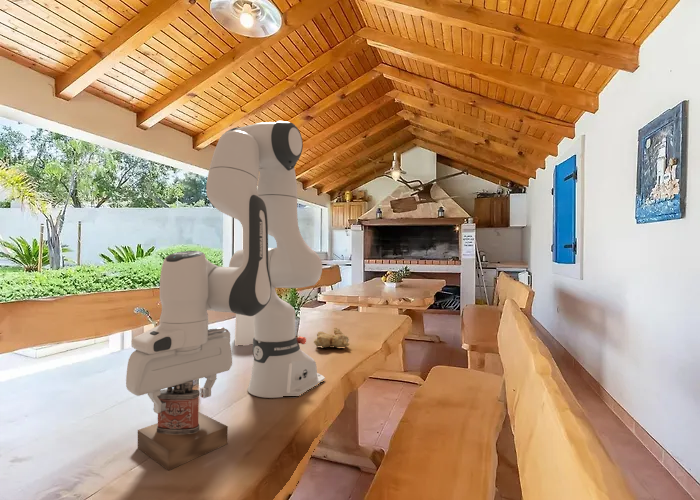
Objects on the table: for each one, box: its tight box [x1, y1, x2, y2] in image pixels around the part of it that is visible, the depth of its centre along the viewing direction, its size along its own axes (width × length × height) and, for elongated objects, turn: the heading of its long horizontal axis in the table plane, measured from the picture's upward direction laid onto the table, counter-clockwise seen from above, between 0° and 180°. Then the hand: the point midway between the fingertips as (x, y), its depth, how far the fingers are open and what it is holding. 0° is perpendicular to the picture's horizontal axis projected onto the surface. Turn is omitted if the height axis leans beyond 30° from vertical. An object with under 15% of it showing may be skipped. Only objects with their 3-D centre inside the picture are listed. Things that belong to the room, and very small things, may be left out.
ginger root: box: [313, 327, 350, 348], centre depth 154 cm, size 16×16×8 cm
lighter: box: [157, 380, 201, 434], centre depth 76 cm, size 8×3×10 cm, turn 89°
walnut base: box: [137, 411, 229, 471], centre depth 77 cm, size 12×12×4 cm
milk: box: [234, 313, 255, 347], centre depth 161 cm, size 12×12×26 cm
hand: (183, 403), depth 77 cm, fingers open, 8 cm apart
